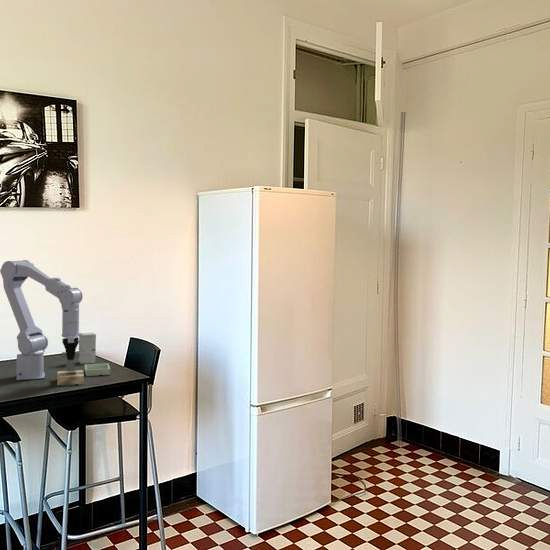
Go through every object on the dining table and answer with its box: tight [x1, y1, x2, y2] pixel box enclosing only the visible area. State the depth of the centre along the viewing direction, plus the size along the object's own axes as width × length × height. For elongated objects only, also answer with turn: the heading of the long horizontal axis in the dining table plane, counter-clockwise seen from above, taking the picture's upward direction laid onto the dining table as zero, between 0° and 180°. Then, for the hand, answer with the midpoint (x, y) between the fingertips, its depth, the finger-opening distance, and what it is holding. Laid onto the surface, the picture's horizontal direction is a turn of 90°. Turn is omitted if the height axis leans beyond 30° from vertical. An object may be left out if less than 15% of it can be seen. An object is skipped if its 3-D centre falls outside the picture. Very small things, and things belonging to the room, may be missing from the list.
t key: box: [61, 351, 79, 371], centre depth 214 cm, size 6×3×6 cm, turn 110°
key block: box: [56, 369, 85, 387], centre depth 214 cm, size 9×9×3 cm
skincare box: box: [78, 332, 97, 365], centre depth 244 cm, size 6×4×12 cm
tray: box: [84, 363, 111, 377], centre depth 228 cm, size 9×9×2 cm
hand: (70, 358), depth 214 cm, fingers closed on t key, 3 cm apart
